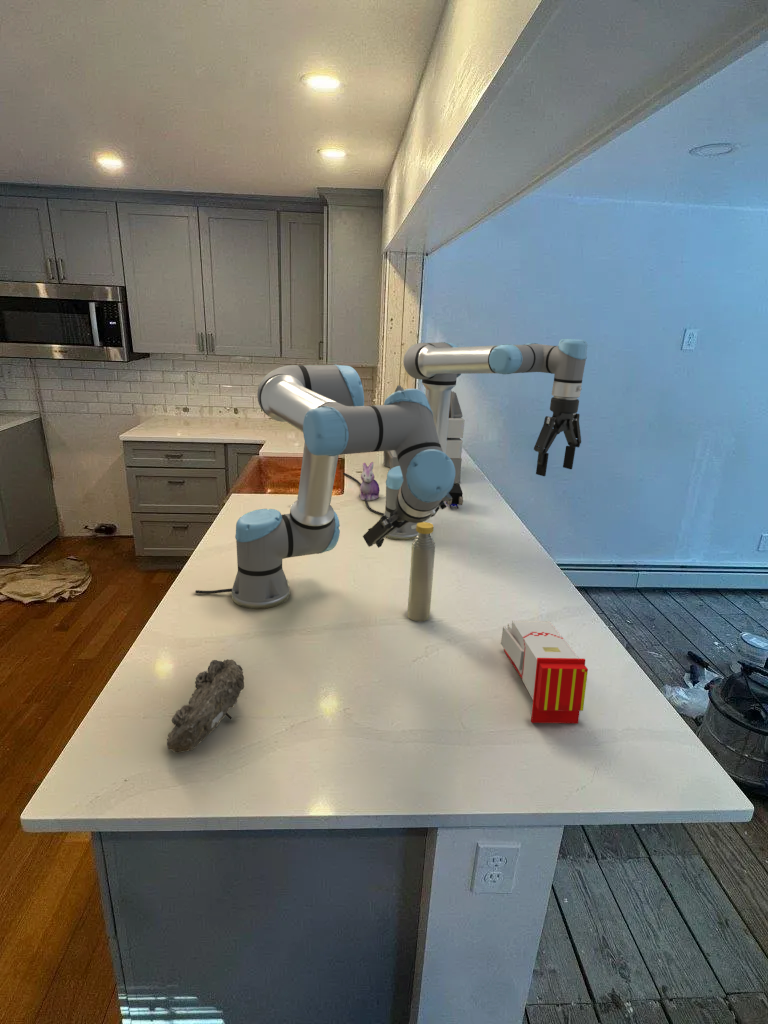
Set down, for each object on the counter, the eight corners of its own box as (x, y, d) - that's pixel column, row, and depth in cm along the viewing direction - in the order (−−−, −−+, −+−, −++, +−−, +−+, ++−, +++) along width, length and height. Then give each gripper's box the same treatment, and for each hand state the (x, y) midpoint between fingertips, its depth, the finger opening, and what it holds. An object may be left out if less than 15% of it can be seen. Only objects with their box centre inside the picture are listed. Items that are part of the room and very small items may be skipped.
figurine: (364, 502, 230) (365, 466, 225) (353, 495, 238) (354, 460, 233) (384, 500, 234) (386, 464, 229) (373, 492, 242) (375, 458, 237)
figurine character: (463, 514, 226) (458, 498, 239) (465, 496, 223) (460, 481, 236) (446, 513, 226) (442, 497, 239) (448, 496, 222) (444, 481, 236)
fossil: (192, 660, 117) (244, 628, 112) (224, 691, 120) (276, 661, 115) (142, 746, 98) (202, 712, 93) (182, 779, 101) (242, 748, 96)
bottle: (406, 620, 145) (412, 529, 136) (408, 609, 150) (414, 521, 142) (428, 622, 144) (435, 531, 136) (430, 611, 149) (437, 523, 141)
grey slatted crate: (382, 463, 289) (386, 382, 275) (445, 464, 293) (451, 384, 279) (390, 482, 257) (394, 392, 243) (460, 483, 261) (468, 394, 247)
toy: (547, 606, 135) (596, 665, 106) (541, 658, 138) (589, 729, 108) (496, 604, 134) (532, 664, 105) (492, 657, 137) (526, 729, 108)
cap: (415, 533, 137) (415, 527, 137) (416, 527, 141) (417, 521, 141) (432, 534, 137) (432, 528, 136) (433, 528, 141) (434, 522, 140)
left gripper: (369, 549, 99) (362, 569, 120) (485, 483, 105) (459, 513, 125) (348, 513, 101) (344, 539, 121) (463, 450, 106) (441, 485, 126)
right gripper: (551, 402, 146) (540, 481, 154) (601, 396, 162) (589, 468, 169) (527, 398, 152) (517, 474, 159) (577, 393, 167) (566, 462, 174)
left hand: (403, 526), depth 123 cm, fingers open, 13 cm apart
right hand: (554, 471), depth 164 cm, fingers open, 13 cm apart
